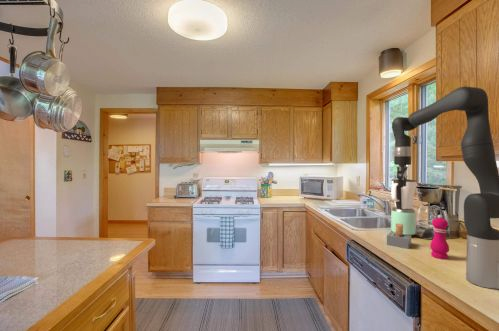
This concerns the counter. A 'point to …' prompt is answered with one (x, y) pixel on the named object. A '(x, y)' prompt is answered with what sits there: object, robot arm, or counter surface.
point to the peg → (399, 230)
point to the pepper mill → (439, 238)
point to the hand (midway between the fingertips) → (402, 186)
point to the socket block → (399, 240)
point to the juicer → (403, 207)
